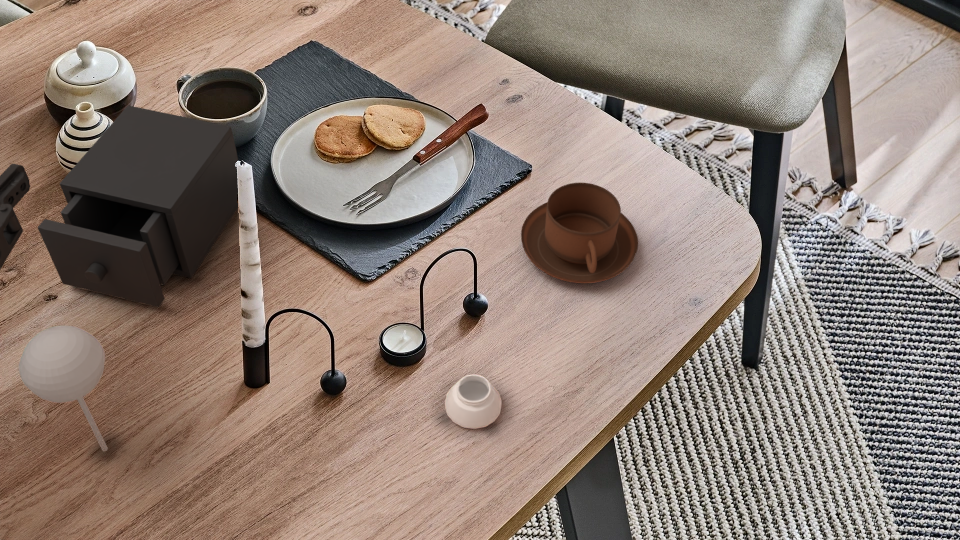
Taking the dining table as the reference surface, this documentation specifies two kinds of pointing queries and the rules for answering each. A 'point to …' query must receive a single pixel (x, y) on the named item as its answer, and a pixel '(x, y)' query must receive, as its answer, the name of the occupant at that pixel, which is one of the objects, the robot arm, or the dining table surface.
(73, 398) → the lollipop
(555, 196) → the cup and saucer
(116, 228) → the black rectangular drawer
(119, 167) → the small drawer cabinet
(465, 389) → the lidless jar
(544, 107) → the dining table surface
